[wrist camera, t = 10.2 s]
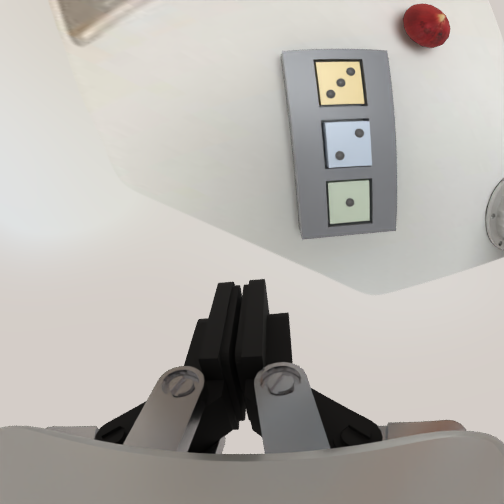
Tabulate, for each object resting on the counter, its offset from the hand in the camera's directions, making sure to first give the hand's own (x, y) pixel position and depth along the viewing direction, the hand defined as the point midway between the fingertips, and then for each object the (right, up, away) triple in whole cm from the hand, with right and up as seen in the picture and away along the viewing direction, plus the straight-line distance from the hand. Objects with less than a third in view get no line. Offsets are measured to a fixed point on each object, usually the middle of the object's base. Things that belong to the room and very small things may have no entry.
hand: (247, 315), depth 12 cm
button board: (+11, +16, +24) cm, 31 cm away
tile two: (+11, +15, +22) cm, 29 cm away
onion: (+21, +31, +17) cm, 41 cm away
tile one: (+12, +9, +26) cm, 30 cm away
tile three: (+10, +22, +20) cm, 31 cm away
